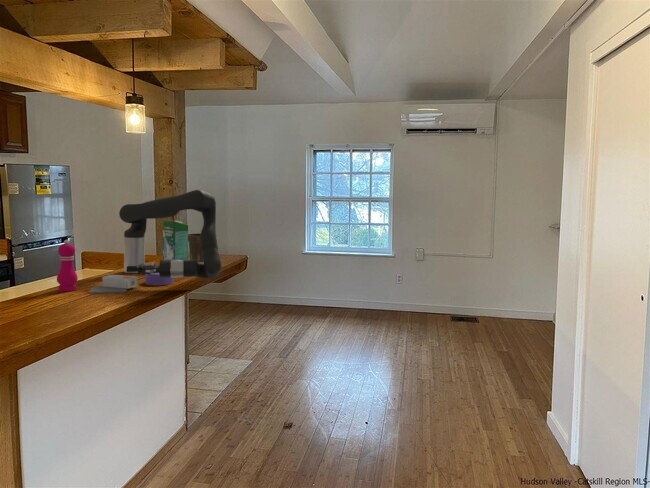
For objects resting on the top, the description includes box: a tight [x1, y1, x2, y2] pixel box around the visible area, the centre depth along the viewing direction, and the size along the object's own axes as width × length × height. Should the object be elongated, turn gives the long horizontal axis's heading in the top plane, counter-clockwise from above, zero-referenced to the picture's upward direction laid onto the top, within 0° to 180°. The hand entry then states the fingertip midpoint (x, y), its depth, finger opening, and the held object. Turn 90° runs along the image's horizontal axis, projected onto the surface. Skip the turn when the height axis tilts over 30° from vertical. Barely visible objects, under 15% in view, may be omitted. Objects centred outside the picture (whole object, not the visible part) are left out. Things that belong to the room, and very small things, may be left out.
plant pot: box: [188, 232, 217, 262], centre depth 267 cm, size 16×16×16 cm
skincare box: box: [101, 274, 138, 290], centre depth 193 cm, size 6×4×12 cm
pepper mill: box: [56, 239, 78, 292], centre depth 185 cm, size 7×7×20 cm
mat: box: [88, 285, 128, 294], centre depth 189 cm, size 12×13×1 cm
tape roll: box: [144, 273, 174, 286], centre depth 207 cm, size 12×12×5 cm
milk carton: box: [162, 219, 189, 260], centre depth 246 cm, size 9×9×25 cm
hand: (126, 268), depth 190 cm, fingers closed
